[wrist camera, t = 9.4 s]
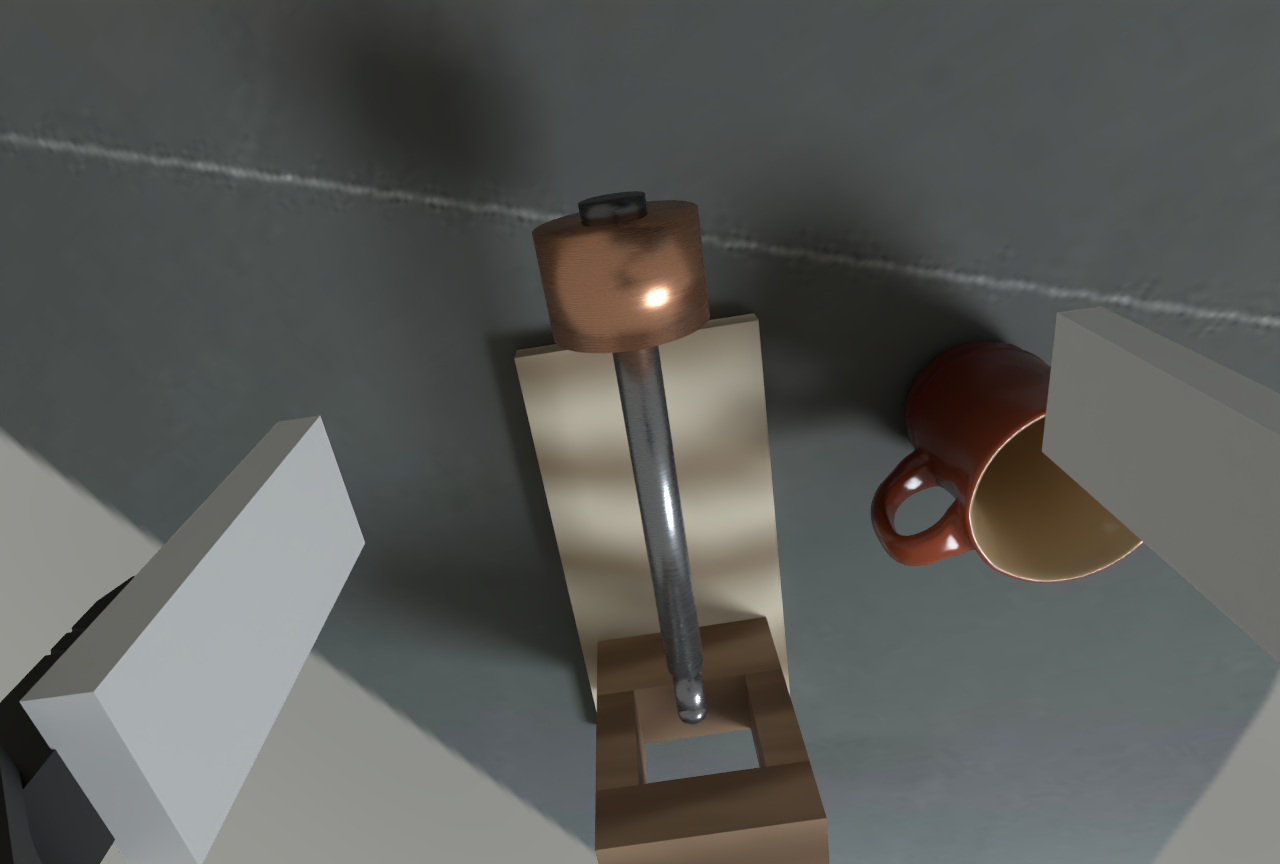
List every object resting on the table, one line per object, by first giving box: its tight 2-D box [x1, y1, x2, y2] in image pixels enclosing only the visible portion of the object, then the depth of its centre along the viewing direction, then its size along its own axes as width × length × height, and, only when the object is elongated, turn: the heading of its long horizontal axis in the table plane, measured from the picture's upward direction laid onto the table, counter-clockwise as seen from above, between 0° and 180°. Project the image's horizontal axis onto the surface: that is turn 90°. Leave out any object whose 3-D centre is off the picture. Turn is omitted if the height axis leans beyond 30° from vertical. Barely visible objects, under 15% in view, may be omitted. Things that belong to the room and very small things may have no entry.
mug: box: [871, 341, 1143, 583], centre depth 36 cm, size 12×9×10 cm
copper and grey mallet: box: [532, 191, 710, 726], centre depth 32 cm, size 24×6×6 cm, turn 8°
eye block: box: [595, 617, 829, 864], centre depth 39 cm, size 4×10×13 cm, turn 98°
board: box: [514, 313, 790, 712], centre depth 43 cm, size 26×12×1 cm, turn 8°
